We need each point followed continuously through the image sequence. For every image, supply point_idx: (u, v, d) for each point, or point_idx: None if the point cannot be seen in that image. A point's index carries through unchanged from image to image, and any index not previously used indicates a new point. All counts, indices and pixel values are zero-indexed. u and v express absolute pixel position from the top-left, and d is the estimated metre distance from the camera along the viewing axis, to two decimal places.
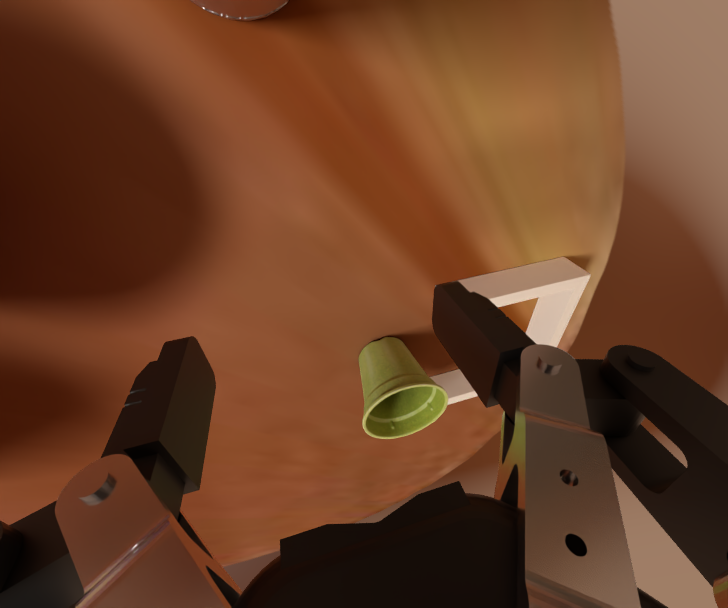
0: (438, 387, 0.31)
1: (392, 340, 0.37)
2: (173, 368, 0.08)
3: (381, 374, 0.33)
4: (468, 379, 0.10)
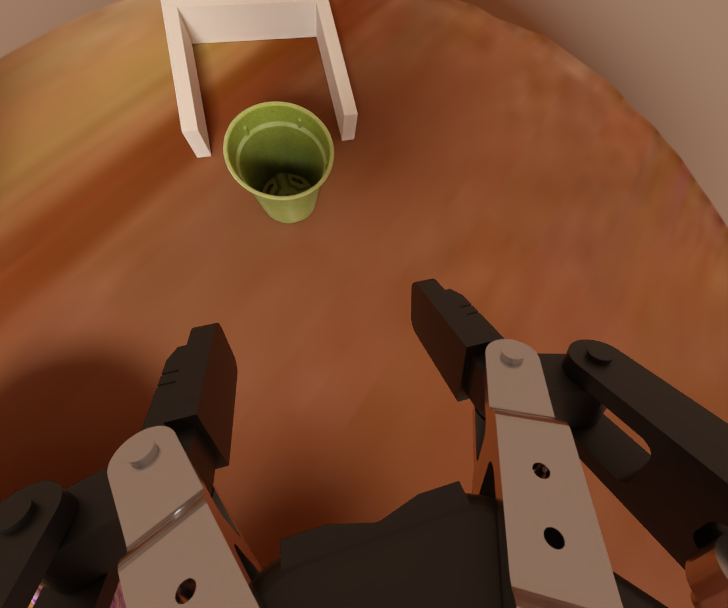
0: (235, 119, 0.27)
1: None
2: (203, 351, 0.09)
3: None
4: (442, 374, 0.10)
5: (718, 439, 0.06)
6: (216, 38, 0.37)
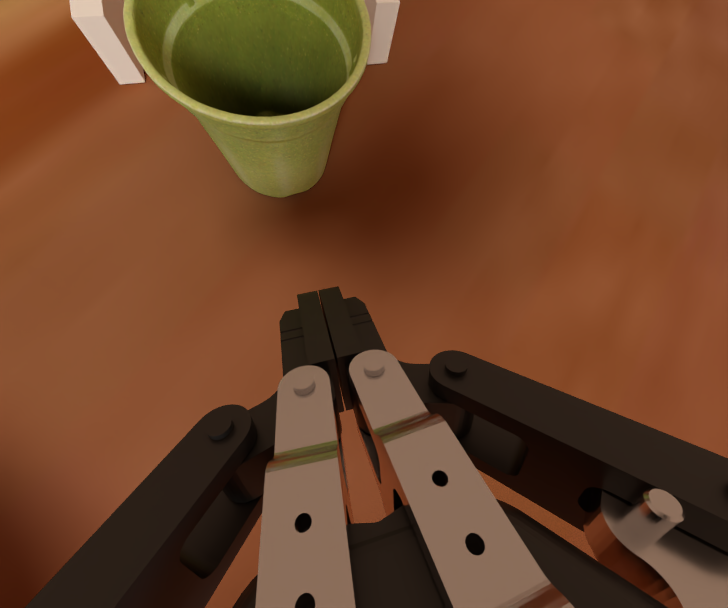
0: None
1: None
2: (316, 312, 0.10)
3: (202, 122, 0.15)
4: (339, 382, 0.10)
5: (565, 412, 0.06)
6: None
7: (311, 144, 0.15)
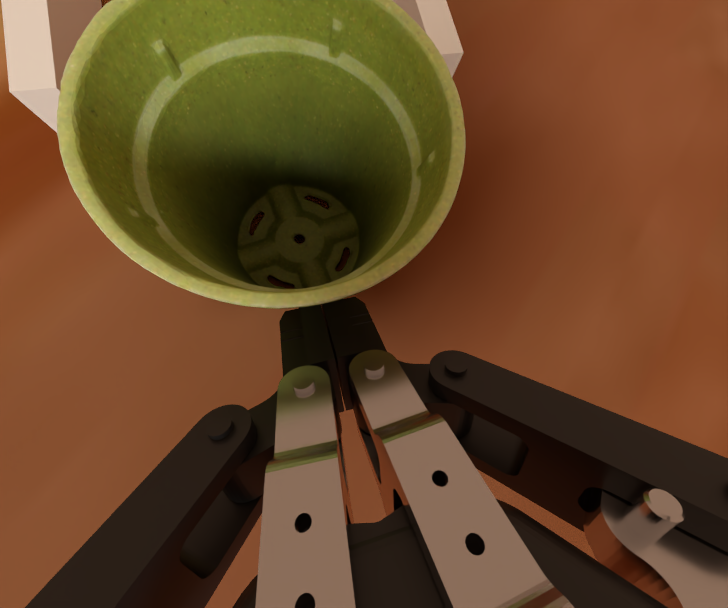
0: (112, 4, 0.07)
1: None
2: (316, 312, 0.10)
3: None
4: (339, 382, 0.10)
5: (564, 412, 0.06)
6: None
7: None
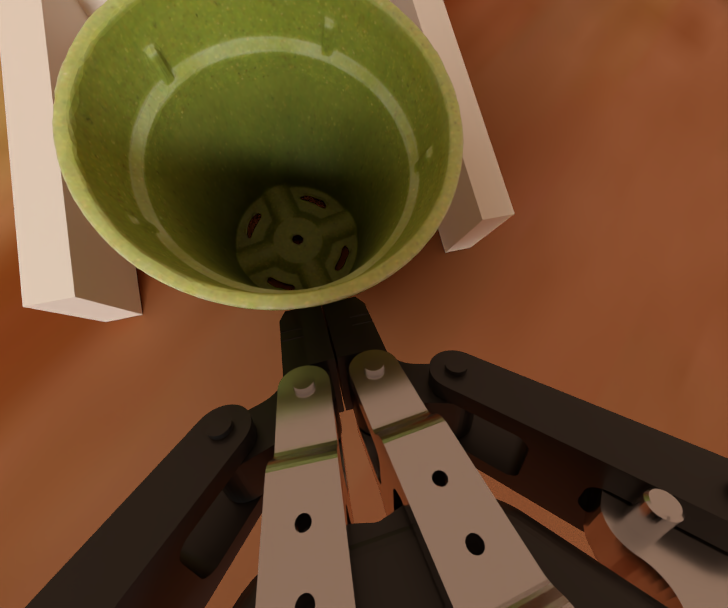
0: (102, 10, 0.07)
1: None
2: (316, 312, 0.10)
3: (198, 253, 0.10)
4: (339, 382, 0.10)
5: (564, 412, 0.06)
6: None
7: None
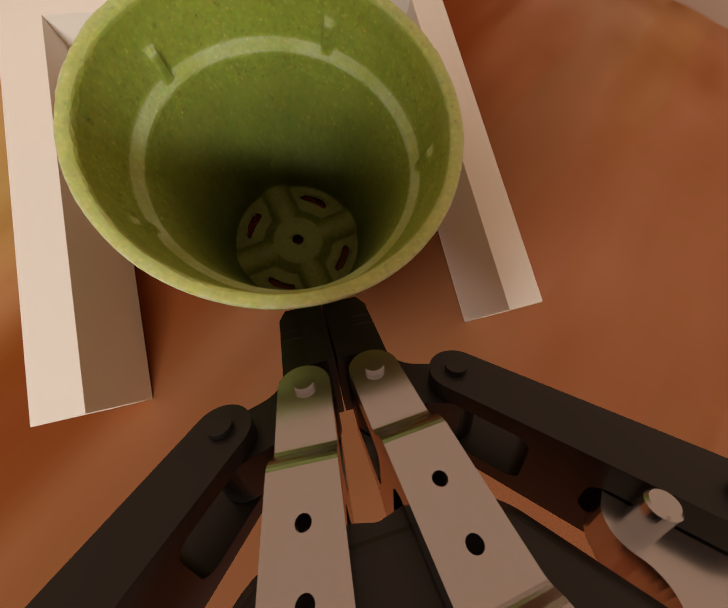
0: (102, 10, 0.07)
1: None
2: (316, 312, 0.10)
3: (199, 253, 0.10)
4: (339, 382, 0.10)
5: (564, 412, 0.06)
6: None
7: None
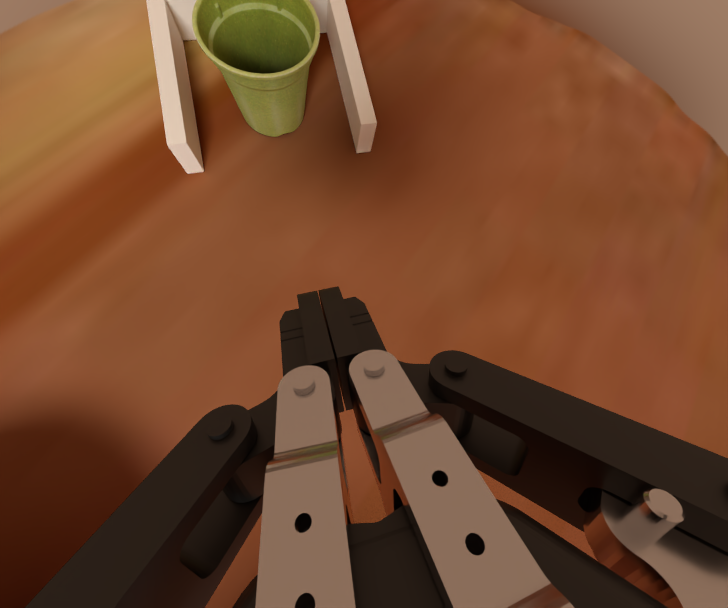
0: None
1: None
2: (316, 312, 0.10)
3: (229, 83, 0.26)
4: (339, 382, 0.10)
5: (565, 412, 0.06)
6: None
7: (291, 94, 0.27)
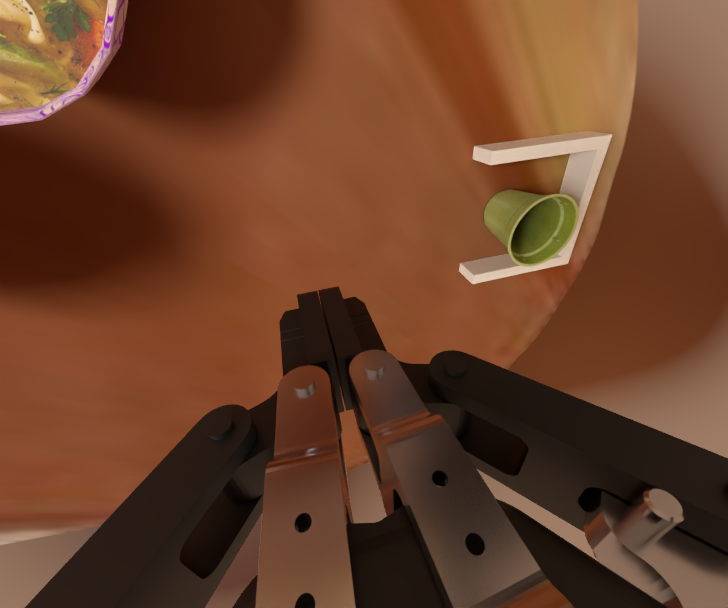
0: (574, 201, 0.37)
1: None
2: (316, 312, 0.10)
3: (519, 201, 0.39)
4: (339, 382, 0.10)
5: (565, 412, 0.06)
6: (569, 168, 0.44)
7: (501, 239, 0.41)
